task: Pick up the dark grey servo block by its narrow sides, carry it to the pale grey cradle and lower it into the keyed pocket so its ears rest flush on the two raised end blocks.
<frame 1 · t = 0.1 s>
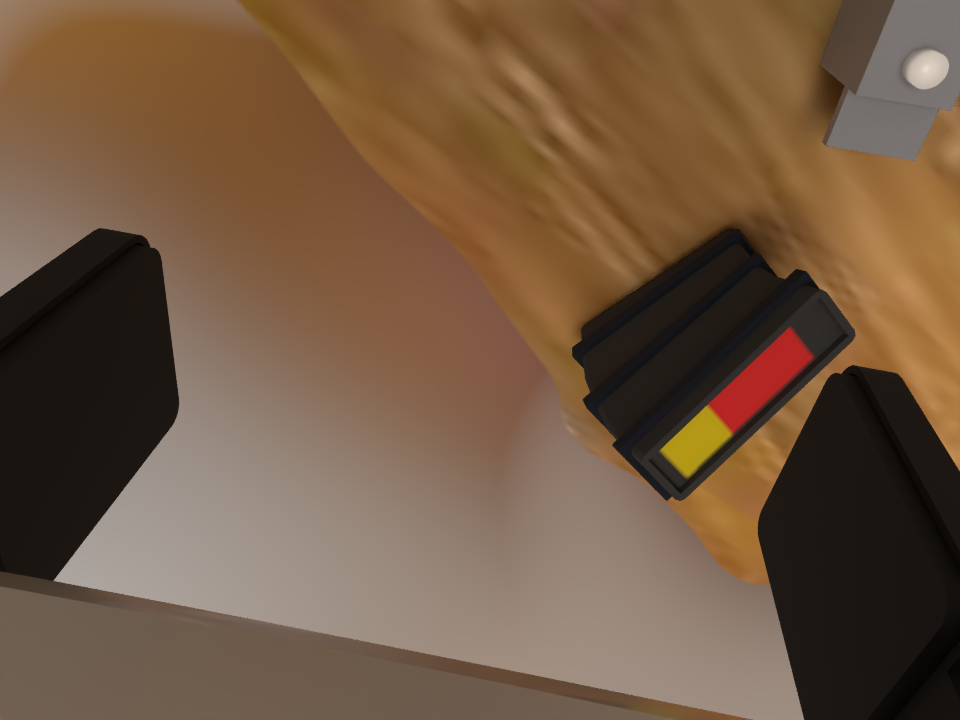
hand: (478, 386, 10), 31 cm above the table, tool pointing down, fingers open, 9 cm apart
servo: (887, 4, 34), on the table
black ridged block: (682, 284, 43), on the table
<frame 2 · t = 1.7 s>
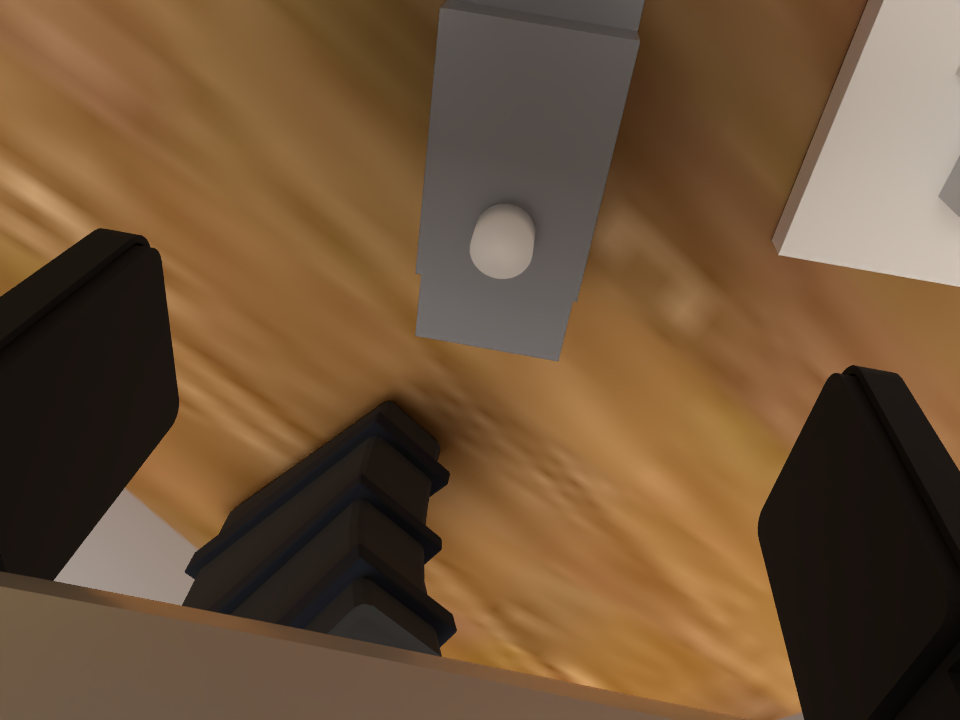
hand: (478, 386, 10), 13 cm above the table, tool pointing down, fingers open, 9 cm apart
servo: (532, 96, 21), on the table
black ridged block: (348, 463, 30), on the table
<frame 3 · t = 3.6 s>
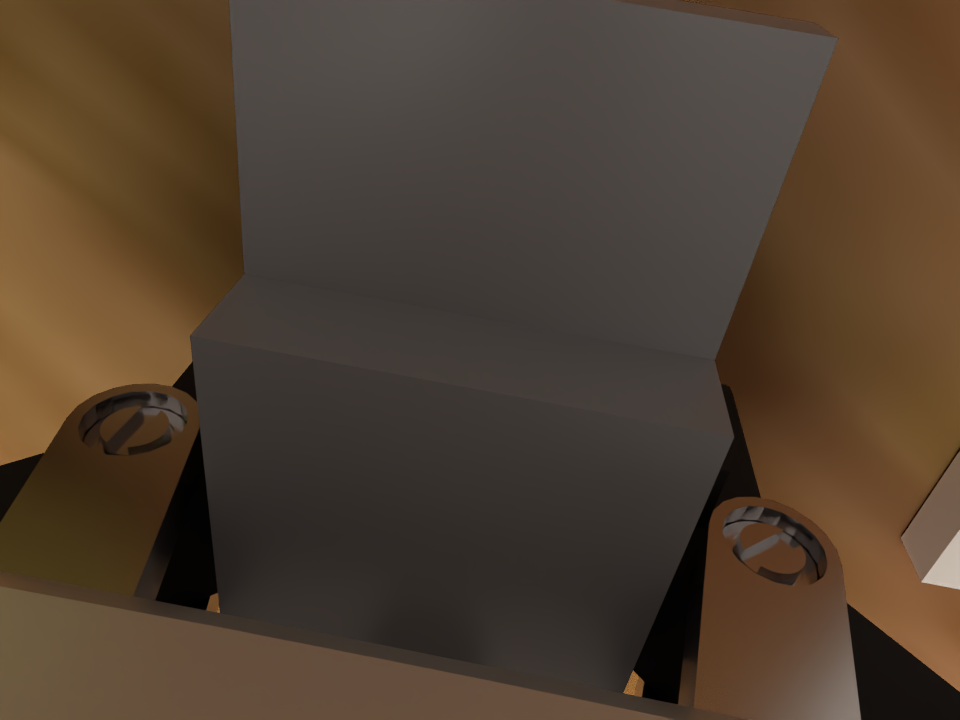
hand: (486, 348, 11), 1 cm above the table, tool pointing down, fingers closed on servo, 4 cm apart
servo: (493, 320, 12), on the table, touching gripper
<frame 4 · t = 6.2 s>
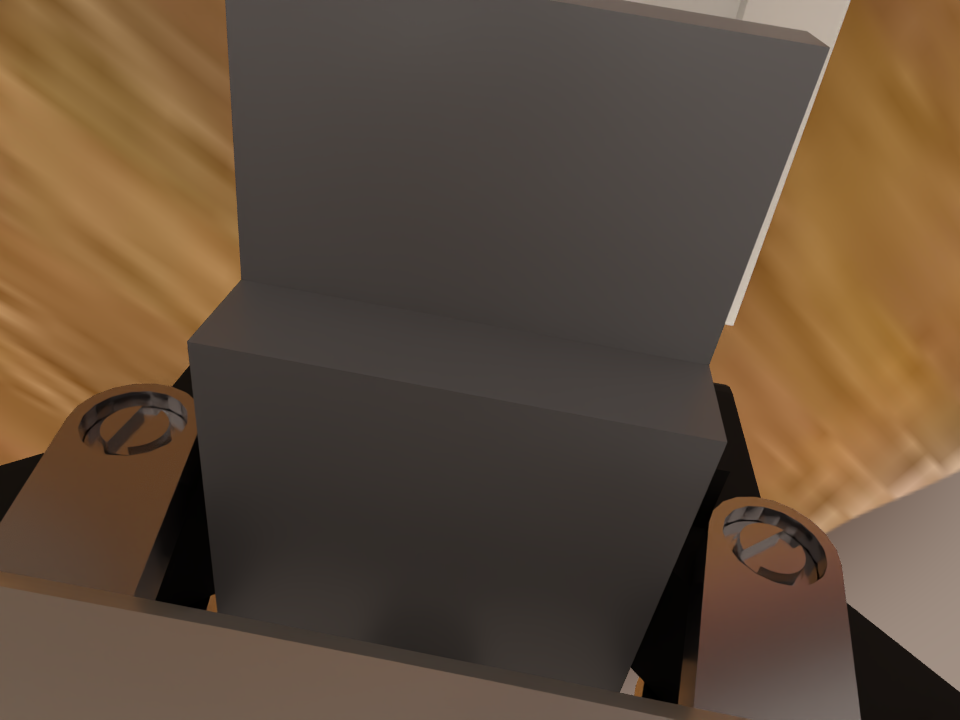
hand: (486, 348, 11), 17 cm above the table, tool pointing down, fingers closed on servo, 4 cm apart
servo: (490, 322, 12), point 16 cm above the table, touching gripper
cradle: (632, 57, 25), on the table
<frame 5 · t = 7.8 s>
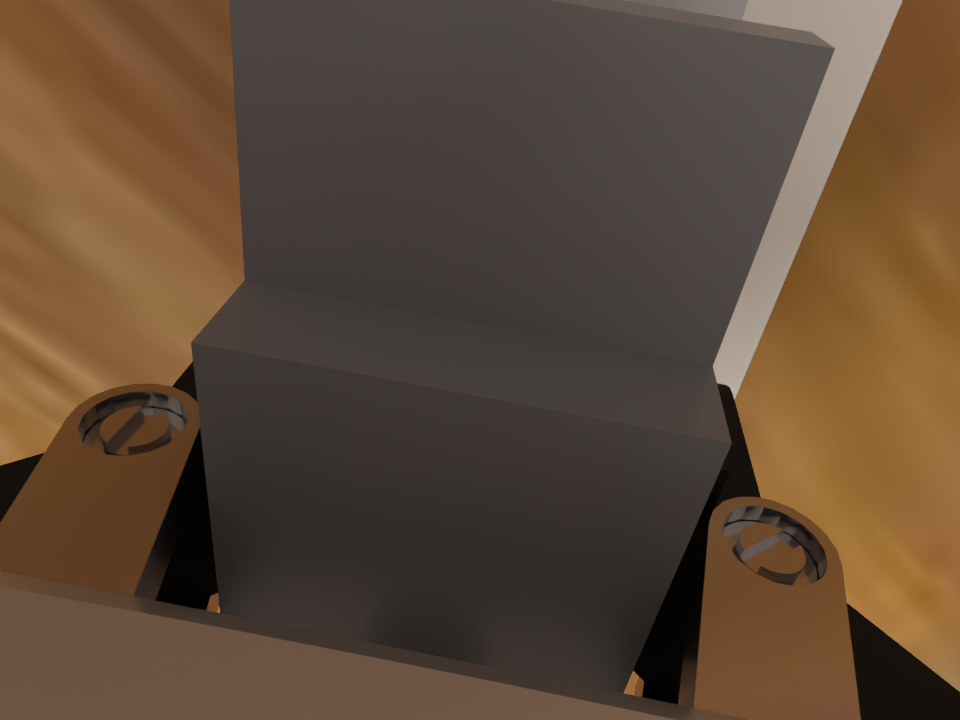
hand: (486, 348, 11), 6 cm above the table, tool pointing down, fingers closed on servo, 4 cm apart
servo: (492, 323, 12), point 6 cm above the table, touching gripper
cradle: (519, 194, 16), on the table
when the fingers open (3 cm above the table, at t = 8.9 s): servo stays where it is, resting on cradle.
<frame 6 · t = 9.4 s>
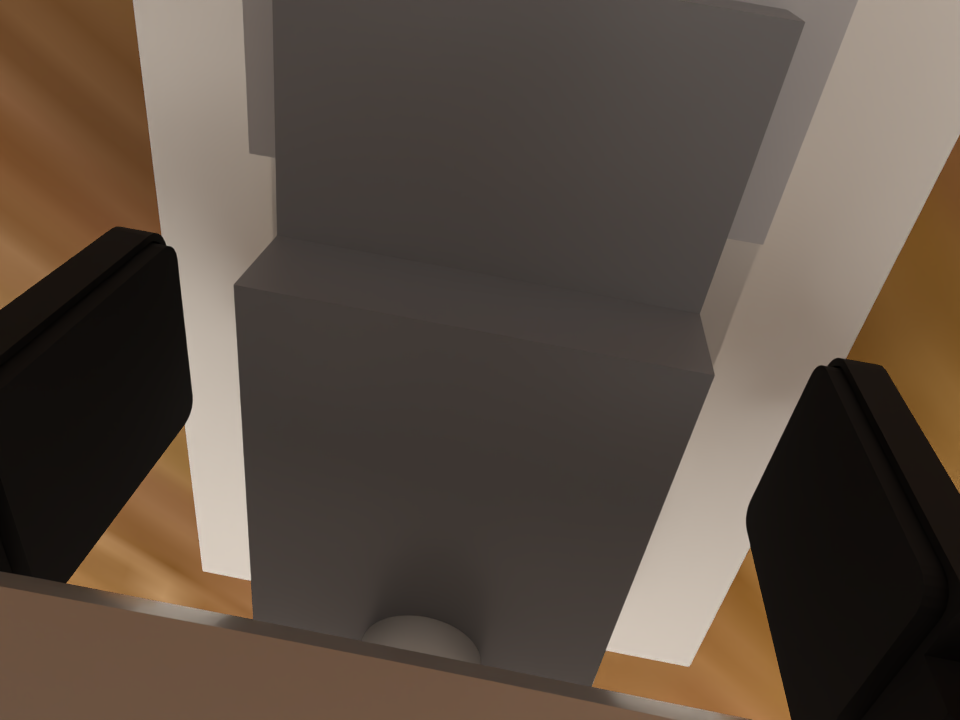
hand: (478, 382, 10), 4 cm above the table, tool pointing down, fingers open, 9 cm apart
servo: (496, 297, 13), point 1 cm above the table, touching cradle
cradle: (504, 270, 13), on the table
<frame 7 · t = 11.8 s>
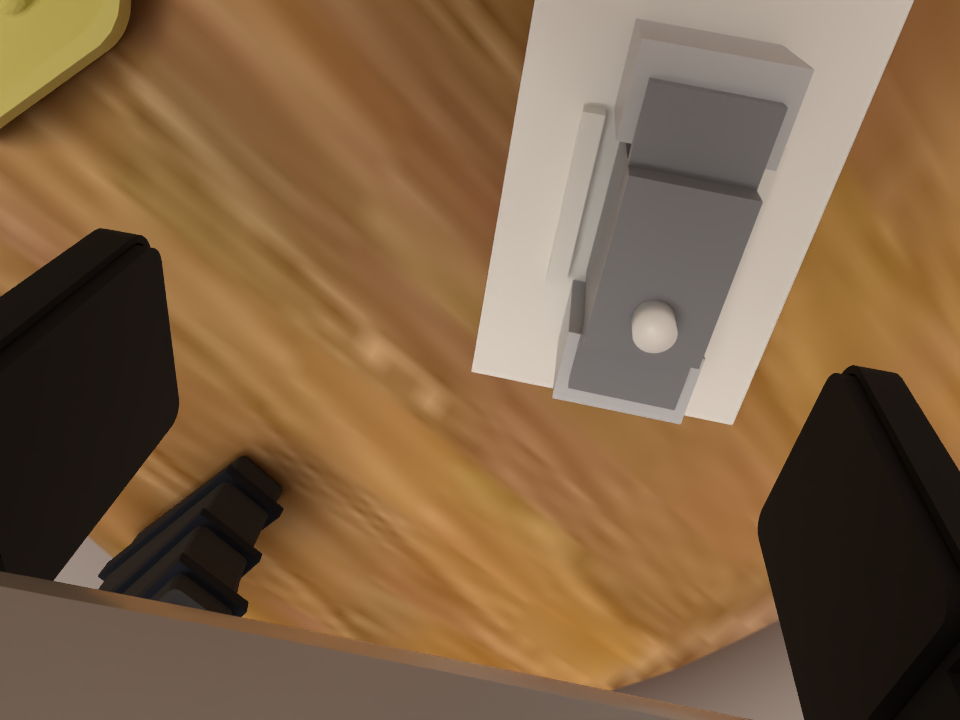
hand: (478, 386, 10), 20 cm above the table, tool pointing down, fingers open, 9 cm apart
servo: (655, 212, 28), point 1 cm above the table, touching cradle
cradle: (654, 203, 29), on the table
black ridged block: (222, 500, 42), on the table
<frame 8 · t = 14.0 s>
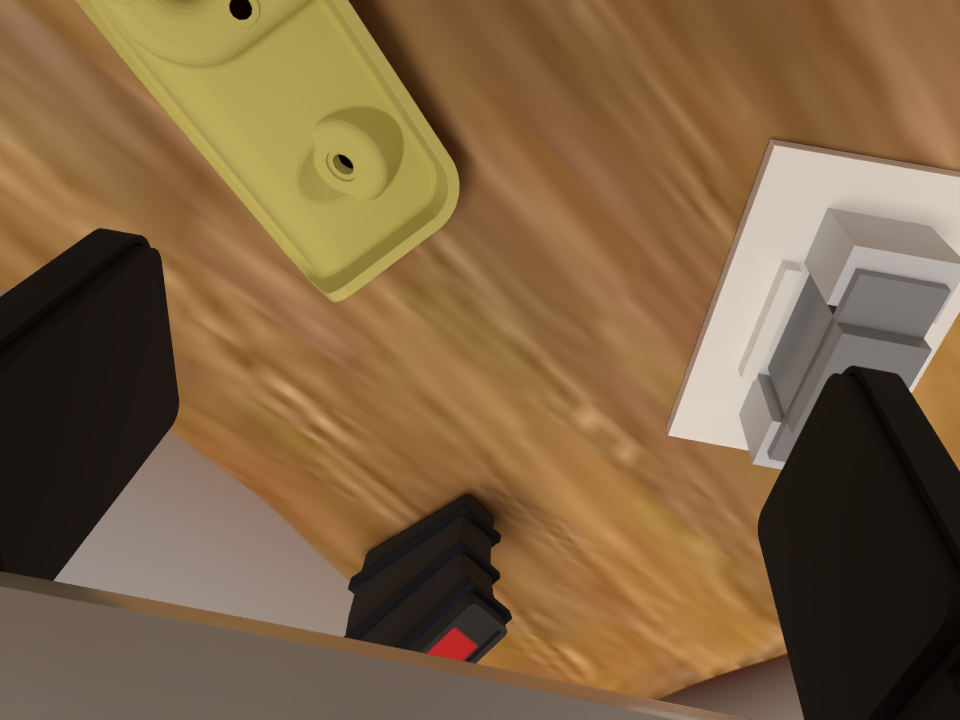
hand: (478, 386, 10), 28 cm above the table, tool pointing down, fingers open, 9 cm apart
servo: (824, 329, 39), point 1 cm above the table, touching cradle
cradle: (820, 319, 40), on the table
plastic component: (293, 72, 37), on the table
black ridged block: (440, 526, 53), on the table
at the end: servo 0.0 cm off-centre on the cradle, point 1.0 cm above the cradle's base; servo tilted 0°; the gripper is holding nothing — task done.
